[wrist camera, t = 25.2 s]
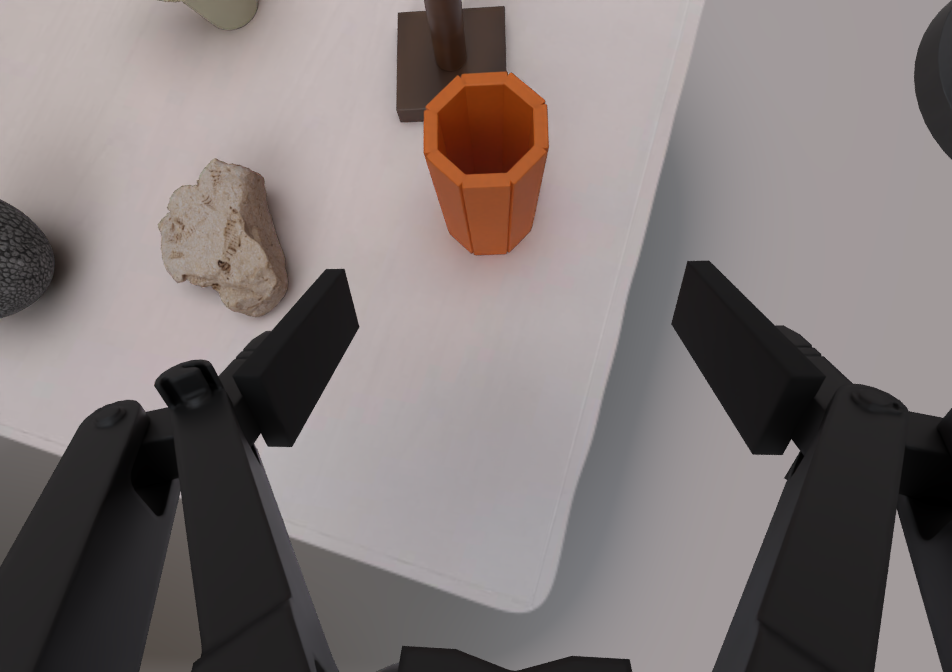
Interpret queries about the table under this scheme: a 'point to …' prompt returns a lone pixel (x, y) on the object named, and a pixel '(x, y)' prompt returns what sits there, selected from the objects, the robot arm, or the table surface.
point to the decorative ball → (22, 261)
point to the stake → (444, 50)
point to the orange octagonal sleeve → (487, 158)
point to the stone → (225, 239)
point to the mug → (223, 11)
